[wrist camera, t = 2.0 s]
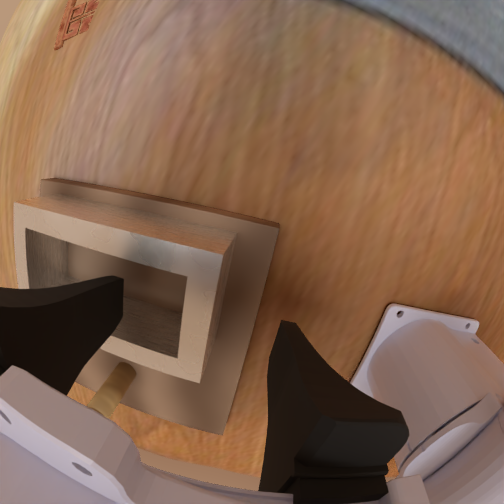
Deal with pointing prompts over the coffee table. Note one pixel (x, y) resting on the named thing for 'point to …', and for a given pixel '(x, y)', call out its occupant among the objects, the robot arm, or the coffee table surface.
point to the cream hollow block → (140, 251)
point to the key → (75, 25)
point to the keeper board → (172, 297)
